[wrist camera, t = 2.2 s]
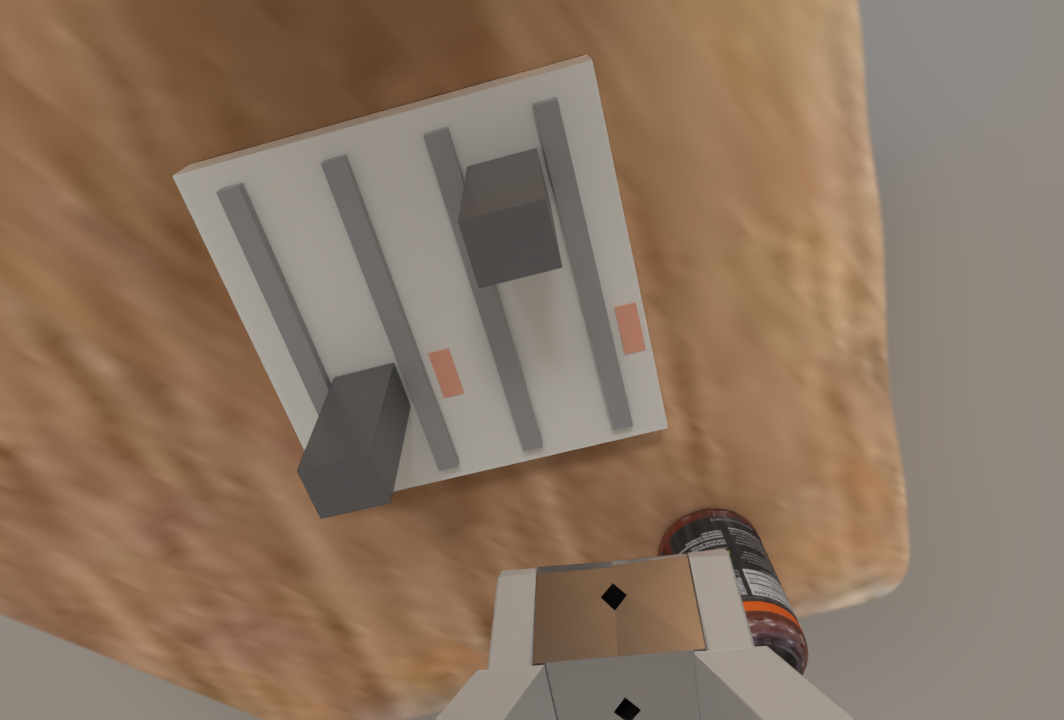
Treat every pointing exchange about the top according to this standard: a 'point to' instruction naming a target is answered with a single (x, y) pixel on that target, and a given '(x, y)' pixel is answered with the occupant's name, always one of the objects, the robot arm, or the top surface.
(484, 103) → the white board with strips
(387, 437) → the switch tab
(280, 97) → the top surface
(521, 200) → the switch tab
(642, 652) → the robot arm
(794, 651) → the supplement bottle
